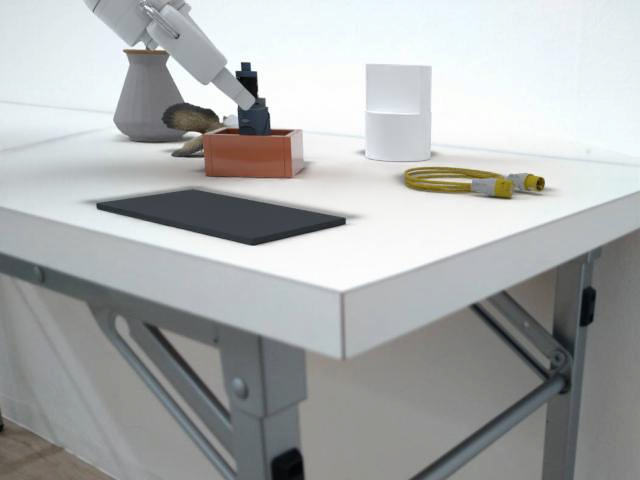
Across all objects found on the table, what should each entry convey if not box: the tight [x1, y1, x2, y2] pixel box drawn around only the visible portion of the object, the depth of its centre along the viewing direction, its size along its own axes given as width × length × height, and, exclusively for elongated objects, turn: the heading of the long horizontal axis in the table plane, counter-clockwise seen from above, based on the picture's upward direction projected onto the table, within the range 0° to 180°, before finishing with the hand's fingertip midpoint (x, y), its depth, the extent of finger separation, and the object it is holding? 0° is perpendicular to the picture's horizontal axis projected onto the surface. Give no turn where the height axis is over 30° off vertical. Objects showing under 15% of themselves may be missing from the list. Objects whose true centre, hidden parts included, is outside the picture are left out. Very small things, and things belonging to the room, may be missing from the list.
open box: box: [201, 127, 305, 179], centre depth 86 cm, size 10×9×4 cm
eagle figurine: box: [161, 101, 239, 157], centre depth 99 cm, size 8×7×9 cm
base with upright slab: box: [364, 63, 433, 162], centre depth 100 cm, size 9×9×12 cm
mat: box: [95, 188, 347, 246], centre depth 63 cm, size 20×10×1 cm, turn 55°
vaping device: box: [235, 61, 272, 135], centre depth 84 cm, size 3×5×12 cm, turn 172°
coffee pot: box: [112, 43, 189, 142], centre depth 116 cm, size 21×12×15 cm, turn 18°
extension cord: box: [403, 166, 546, 199], centre depth 80 cm, size 12×16×2 cm
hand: (248, 102), depth 84 cm, fingers open, 8 cm apart
